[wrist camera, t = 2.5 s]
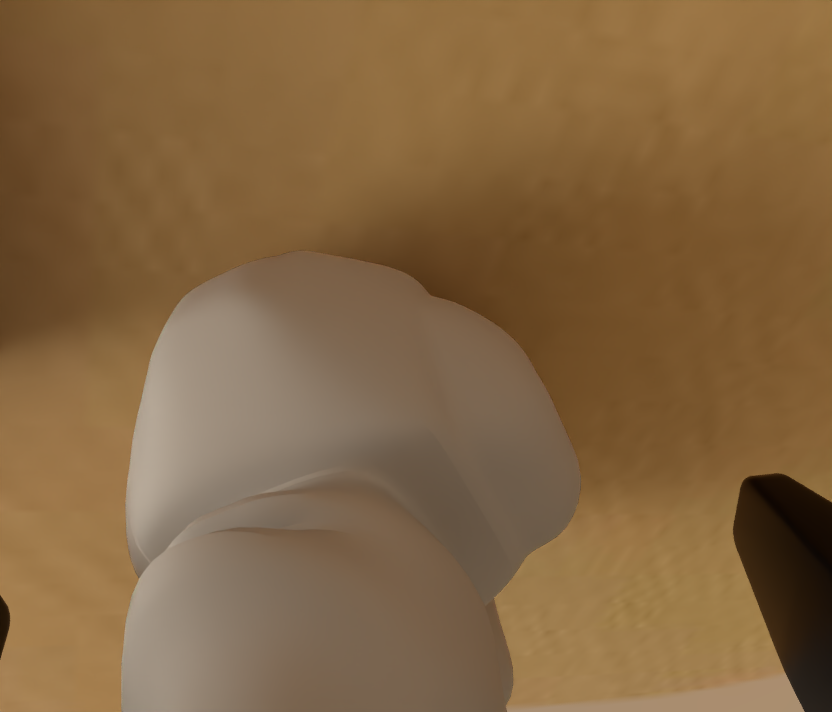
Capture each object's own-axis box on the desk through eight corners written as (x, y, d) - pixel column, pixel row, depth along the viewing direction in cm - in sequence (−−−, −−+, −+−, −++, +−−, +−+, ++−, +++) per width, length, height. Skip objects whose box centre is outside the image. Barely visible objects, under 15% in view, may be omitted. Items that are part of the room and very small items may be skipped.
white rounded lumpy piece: (434, 119, 8) (667, 943, 2) (594, 479, 12) (899, 1257, 5) (78, 296, 9) (-735, 1259, 3) (317, 581, 13) (240, 1336, 6)
